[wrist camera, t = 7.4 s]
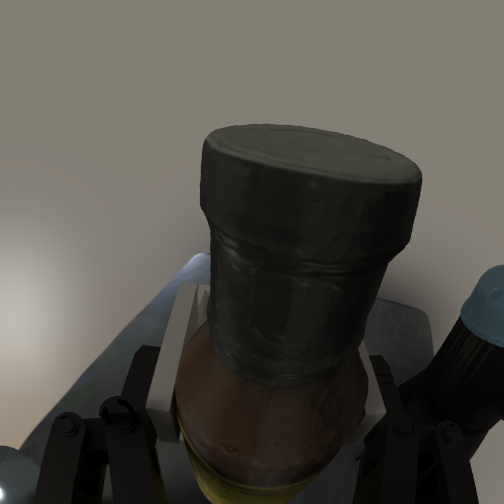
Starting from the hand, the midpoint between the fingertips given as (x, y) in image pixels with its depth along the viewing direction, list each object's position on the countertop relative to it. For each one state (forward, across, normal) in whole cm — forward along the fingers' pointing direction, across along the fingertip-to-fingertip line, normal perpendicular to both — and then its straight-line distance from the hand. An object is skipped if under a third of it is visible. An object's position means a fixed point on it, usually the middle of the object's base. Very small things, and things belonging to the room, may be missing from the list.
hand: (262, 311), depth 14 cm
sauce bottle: (-5, 0, -11) cm, 12 cm away
